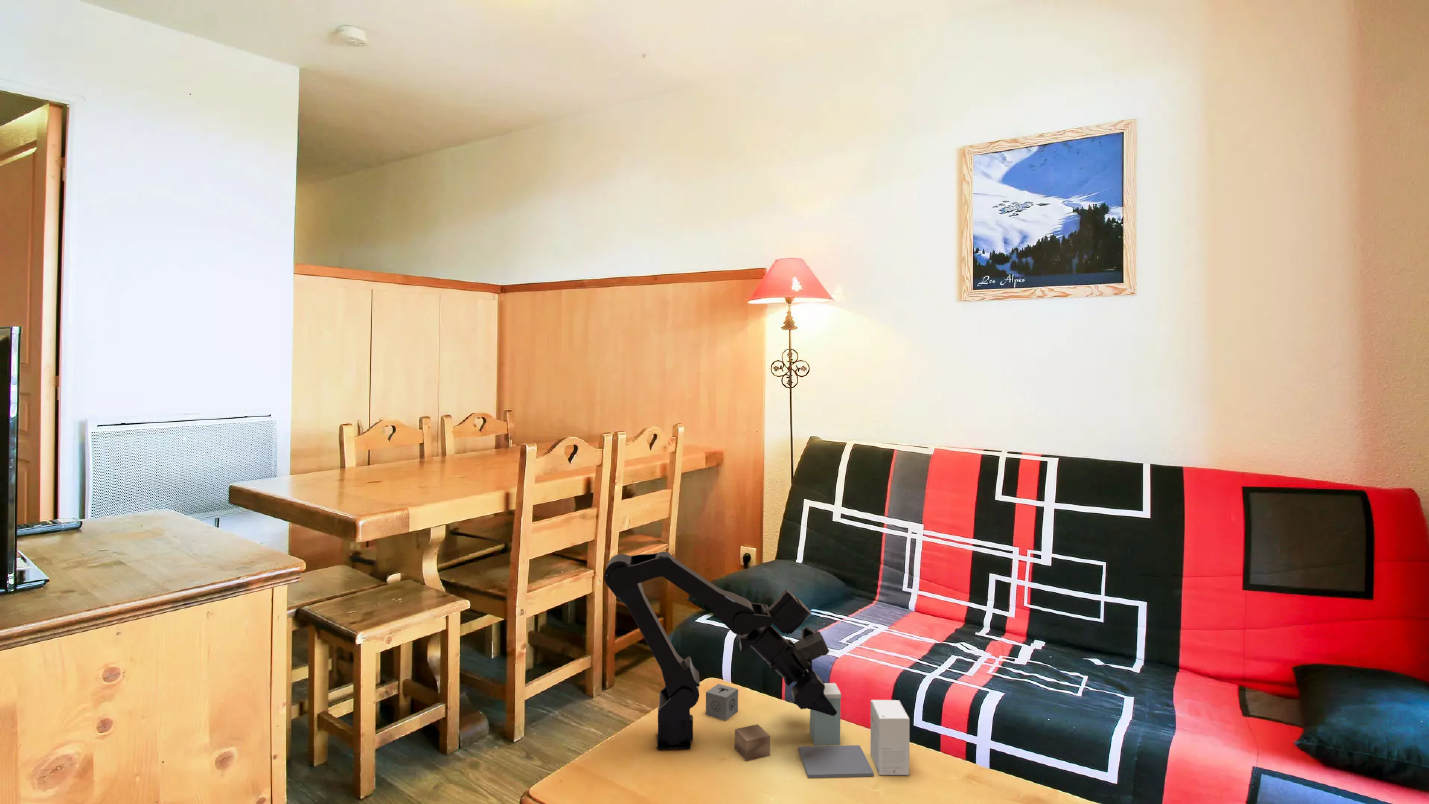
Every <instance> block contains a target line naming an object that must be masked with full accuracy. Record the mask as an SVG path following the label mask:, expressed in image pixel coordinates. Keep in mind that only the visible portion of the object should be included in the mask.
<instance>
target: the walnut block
mask: <svg viewBox="0 0 1429 804" xmlns="http://www.w3.org/2000/svg"><path fill="white" fill-rule="evenodd" d="M734 750H735V751H736V752H737V753H738V754H739V755H740V756H741V757H742V758H743V759H744V760H745V761H746V762H750V761H754V760H757V759H761V758H762V759H763V758H767V757H770V756H771V735H770V734H769V733H768V732H767V731H766V730H764V729H763V727H761V726H760V725H759V724H758V723H756V724H752V725H747V726H743V727H738V728H734Z"/></svg>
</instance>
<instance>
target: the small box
mask: <svg viewBox="0 0 1429 804" xmlns="http://www.w3.org/2000/svg"><path fill="white" fill-rule="evenodd" d="M910 722H911V721H910V717H909V715H908V714H907V712H906V710H905V708H904V707H903V704H902V703H901V701H900V700H899V699H898V700H896V699H871V700H870V756H871V757H872V760H873V763H874V766H875V768H876V771H877V772H878V775H879V776H909V775H910V724H911V723H910Z"/></svg>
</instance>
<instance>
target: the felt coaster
mask: <svg viewBox="0 0 1429 804" xmlns="http://www.w3.org/2000/svg"><path fill="white" fill-rule="evenodd" d="M797 749H798V753H799V756H800V759H801V762H802V765H803V768H804V771H805V774H806V776H807V777H806V778H807V779H820V778H821V779H825V778H826V779H827V778H829V779H831V778H833V779H834V778H862V777H864V778H866V777H867V778H868V776H874V777H875V773H874V770H873V769H872V766H871V765H870V762H869V761H868V759H867V756H866V755H865V753H864V751H863V749H862V747H861V745H860V744H857V745H856V744H855V745H852V744H850V745H847V744H846V745H814V746H813V745H809V746H807V745H806V746H804V745H803V746H801V745H800V746H798V748H797Z"/></svg>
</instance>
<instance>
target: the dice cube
mask: <svg viewBox="0 0 1429 804" xmlns="http://www.w3.org/2000/svg"><path fill="white" fill-rule="evenodd" d="M738 712H739V688H736V687H732V686H729V685H725V684H721V683H717V684H716V685H713V687H711V688H710V689H708V690H706V691H705V716H707V717H712V718H715V719H718V720H722V721H724V722H727V721H728V720H729V719H730V718H732V717H733V716H734V715H736V714H737V713H738Z"/></svg>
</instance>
